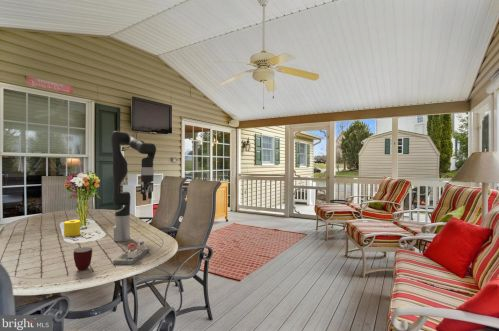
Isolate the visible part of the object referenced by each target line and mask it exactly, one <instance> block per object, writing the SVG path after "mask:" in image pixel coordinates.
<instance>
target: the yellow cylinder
mask: <svg viewBox="0 0 499 331" xmlns="http://www.w3.org/2000/svg"><path fill="white" fill-rule="evenodd" d="M78 235H81V220H79V219H75V220H74V219H72V220H66V221H64V222H63V236H64V237H76V236H78Z"/></svg>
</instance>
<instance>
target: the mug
mask: <svg viewBox="0 0 499 331" xmlns="http://www.w3.org/2000/svg"><path fill="white" fill-rule="evenodd" d="M92 257H93V248H92V247H91V246H90V247H89V246H88V247H86V246H85V247H84V246H83V247H79V248H76V249H74V250H73V260H74V265H75V267H76V269H77V270H78V271H80V272H84V271H86V270H88V269H89V268H90V265H91V262H92Z"/></svg>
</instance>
